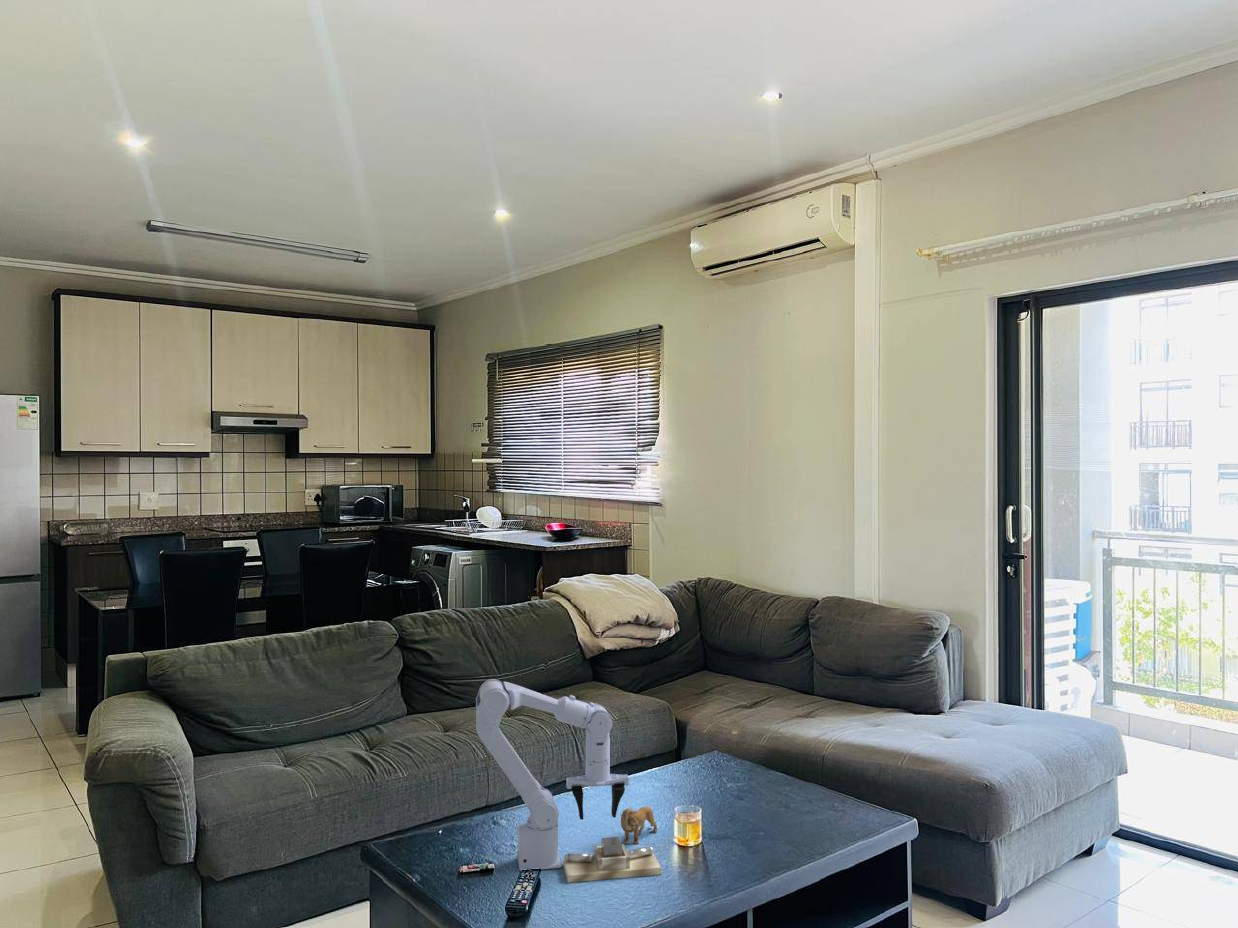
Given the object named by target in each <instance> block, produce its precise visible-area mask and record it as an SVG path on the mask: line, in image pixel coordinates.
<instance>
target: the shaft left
mask: <svg viewBox="0 0 1238 928" xmlns="http://www.w3.org/2000/svg"><path fill="white" fill-rule="evenodd" d="M563 858H564V859H565V861H567V862H592V861H593V860H594V856H593V854H592V853H581V852H580V853H573V852H567V853H565V854H564V856H563Z"/></svg>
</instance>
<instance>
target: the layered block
mask: <svg viewBox="0 0 1238 928" xmlns="http://www.w3.org/2000/svg"><path fill="white" fill-rule="evenodd" d="M600 839H601V845H600V846H601V858H607V857H619V856H622V844H623V843H622V841H621V838H620V837H619V836H610V837H609V836H608V837H601V838H600Z"/></svg>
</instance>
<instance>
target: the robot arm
mask: <svg viewBox="0 0 1238 928" xmlns="http://www.w3.org/2000/svg"><path fill="white" fill-rule="evenodd" d="M475 703H476V704H475V708H476V709H475V710H476V711H475V715H476V717H475V718H476V719H475V720H476V721H475V722H476V723H475V728H476V733H477V736H478V737H479V739H480V741H481V742H482V743H483V745H484V746H485V747H486V749H487V750H488V751H489V753H490V755H491V756H492V757H493V759H494V760H495V761H496V763H497V764H498V766H499V767H500V768H501V770H502V772H504V774H505V776H506V777H507V778H508V780H509V781H510V783H511V785H513V787H514V788H515V790H516V791H517V793H518V794H519V795H520V797H521V799H522V800H523V802H524V804H525V806H526V808H527V809H528V811H529V814H530V815H529V816H528V819H527V820H526V823H523V824H519V825H518V826H517V849H516V859H517V862H518V868H519V872H523V871H522V870H524V869H526V868H527V869H531V868H540V869H541V870H550V869H561V868H562V867H563V864H562V862H561V859H560V855H559V817H560V811H559V809H558V806H557V805H556V803H555V801H554V795H553V794H552V792H551V791H550V790H548V788H545V787H543V786H542V785H541V784H540V783H539V781H538V780H536V779H535V777H534V775H533V774H532V773H531V771H530V769H528V767H527V766H526V764H525V763H524V762H523V760H522V759H521V757H520V756H519V754H518V753H517V752H516V750H515V749H514V747H513V746H512V744H511V743H510V742H509V740H508V739H507V738H506V736H505V734H504V733H503V732H502V730H501V729H500V724H501V721H502V718H503V717H504V715H505V713H506V711H507V710H508V709H510V710H511V711H512V710H515V709H517V708H519V707H522V706H525V707H528V708H532V709H535V710H540V711H543V712H547V713H550V714H554V717H555V719H556V720H557V722H558V721H559V722H562V723H565V724H568V725H571V726H574V727H578V728H581V729H585V730H586V731H585V771H584V772H585V774H584V775H583V774H582V775H578V776H577V775H576V776H572V777H566V779H565V780H566V789H567V790H568V789H569V790H571V792H572V795H573V797H574V799H575V802H576V804H577V808H578V817H579V820H584V806H583V805H584V792H583V788H585V787H587V788H588V787H604V786H611V816H612V818H617V813H618V809H619V805H620V801H621V800H622V797H623V795H624V794H625V790H626V788H625V786H629V785H630V783H629V782H630V777H629V775H628V774H616V773H611V769H610V767H611V765H610V763H611V739H610V731H611V730H612V728H613V725H614V722H613V720H612V719H613V718H612V716H611V715H610V714H609V712H608V711H607V709H606V708H605V707H604V706H602V705H600V704H598V703H594V702H591V701H590V702H589V703H587V702H586V701H583V700H578V699H577V698H576V697H575V695H572V694H570V695H569V696H561V697H559V698H554V697H551V696H549V695H545V694H542V693H541V692H537V691H534V690H532V689H529V688H527V687H523V686H522V685H519V684H515V683H511V682H509V681H503V682H502V681H500V680H499V679H494V678H492V679H487V680H485V681H484V682H483V683H482V684H481V685H480V686H479V690H478V692H477V695H476V697H475Z"/></svg>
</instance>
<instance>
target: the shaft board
mask: <svg viewBox="0 0 1238 928" xmlns="http://www.w3.org/2000/svg"><path fill="white" fill-rule="evenodd" d="M592 848H593V854H592V855H593V856H594V860H593V861H592V862H567V861H565V859H564V857H563V858H562V867H563V870H564V873H565V876H566V880H567V883H568V884H569V883H579V882H580V883H581V882H591V881H601V880H612V879H624V878H633V877H634V878H636V877H637V878H638V877H645V876H646V877H647V876H648V877H649V876H656V875H657V876H658V875H659V874H660V875H662V867H661V865H660V862H659V861H658V859H657V858H656V855H655V854H654V853H653V854H652V855H648V856H643V857H638V858H634V859H630V856H629V854H628V850H627V848H626V846H625V844H624V843H622V856H619V857H607V858H601V845H595V846H593V847H592Z"/></svg>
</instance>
